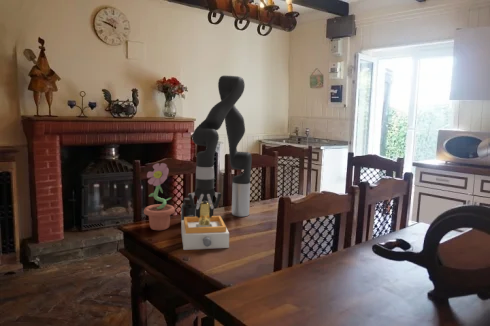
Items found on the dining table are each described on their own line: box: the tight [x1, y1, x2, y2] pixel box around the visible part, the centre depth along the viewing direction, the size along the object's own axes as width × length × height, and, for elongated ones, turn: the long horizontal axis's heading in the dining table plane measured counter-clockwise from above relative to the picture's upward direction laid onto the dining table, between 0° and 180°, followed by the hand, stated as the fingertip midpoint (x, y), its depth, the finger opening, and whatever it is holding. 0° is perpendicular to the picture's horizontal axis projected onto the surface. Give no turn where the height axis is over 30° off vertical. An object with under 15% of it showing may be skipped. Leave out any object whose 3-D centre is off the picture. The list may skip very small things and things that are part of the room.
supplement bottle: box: [180, 197, 196, 221], centre depth 182 cm, size 7×7×12 cm
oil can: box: [199, 200, 210, 225], centre depth 158 cm, size 5×5×10 cm
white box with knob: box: [180, 215, 230, 251], centre depth 158 cm, size 23×18×8 cm
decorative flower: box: [143, 162, 176, 231], centre depth 172 cm, size 15×14×30 cm
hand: (204, 217), depth 158 cm, fingers closed on oil can, 4 cm apart
